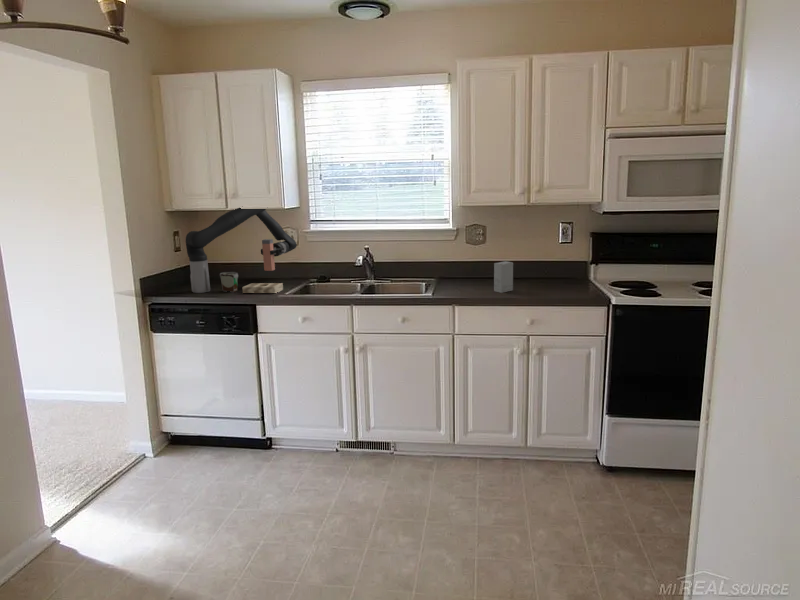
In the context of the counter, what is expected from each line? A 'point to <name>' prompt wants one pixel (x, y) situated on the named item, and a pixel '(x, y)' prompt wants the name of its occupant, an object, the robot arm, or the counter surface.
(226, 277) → the food container
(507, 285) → the skincare box
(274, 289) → the beige rectangular block
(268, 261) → the pink tall block
